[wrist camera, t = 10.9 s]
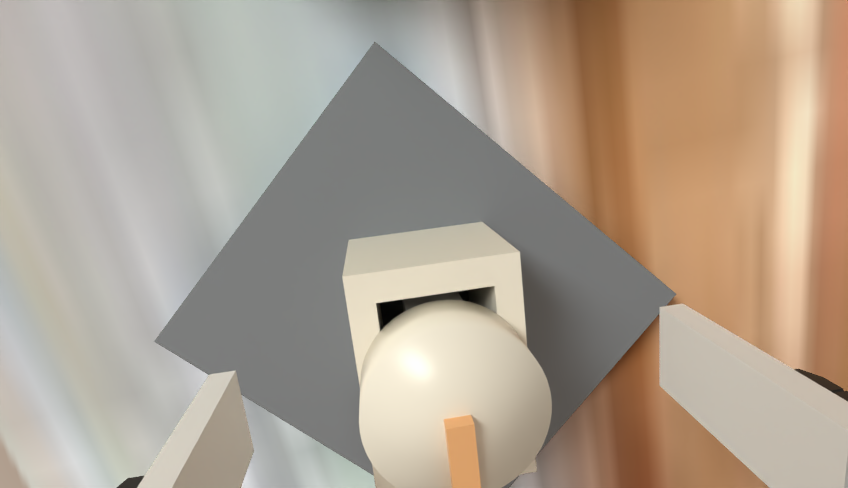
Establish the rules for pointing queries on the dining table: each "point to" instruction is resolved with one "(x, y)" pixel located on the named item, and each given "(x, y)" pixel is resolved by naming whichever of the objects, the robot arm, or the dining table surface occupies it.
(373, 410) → the knob
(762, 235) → the dining table surface
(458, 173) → the board
